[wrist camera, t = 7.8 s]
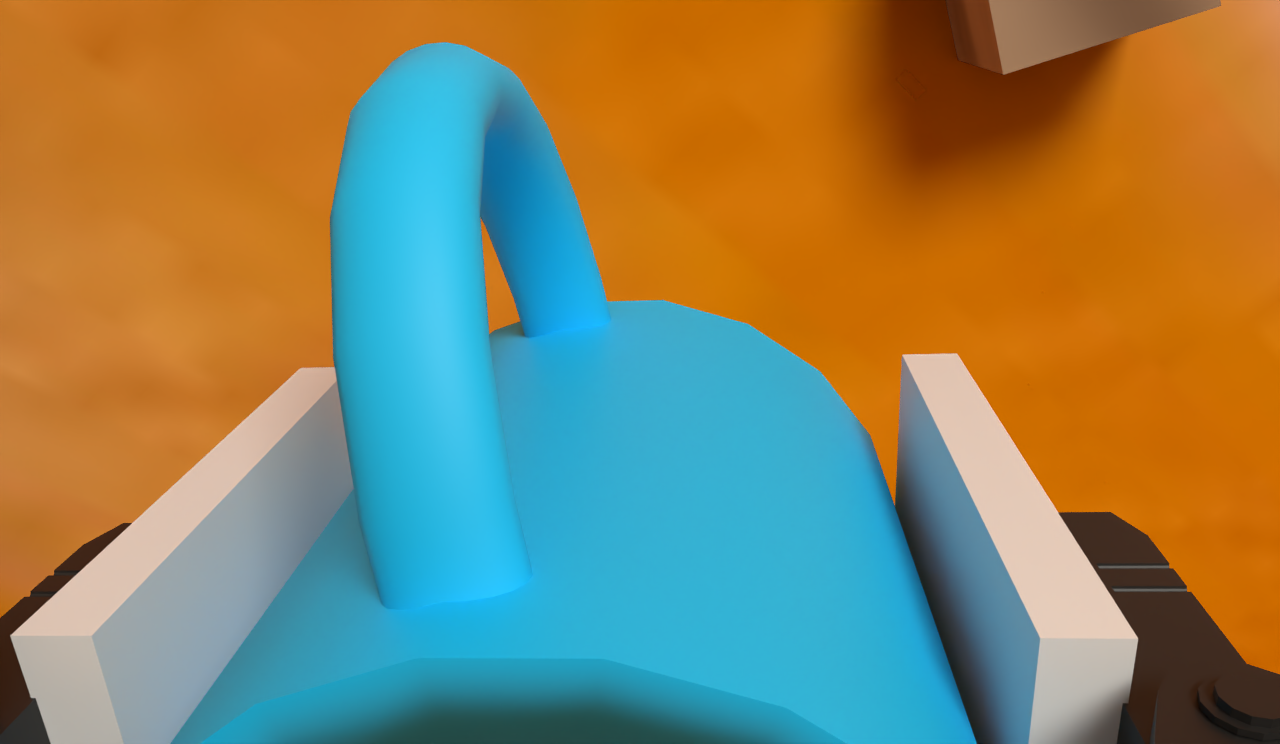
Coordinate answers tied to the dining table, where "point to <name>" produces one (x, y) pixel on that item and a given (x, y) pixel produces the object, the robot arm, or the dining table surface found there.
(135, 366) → the dining table surface
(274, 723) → the mug
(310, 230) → the dining table surface
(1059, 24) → the walnut cube
